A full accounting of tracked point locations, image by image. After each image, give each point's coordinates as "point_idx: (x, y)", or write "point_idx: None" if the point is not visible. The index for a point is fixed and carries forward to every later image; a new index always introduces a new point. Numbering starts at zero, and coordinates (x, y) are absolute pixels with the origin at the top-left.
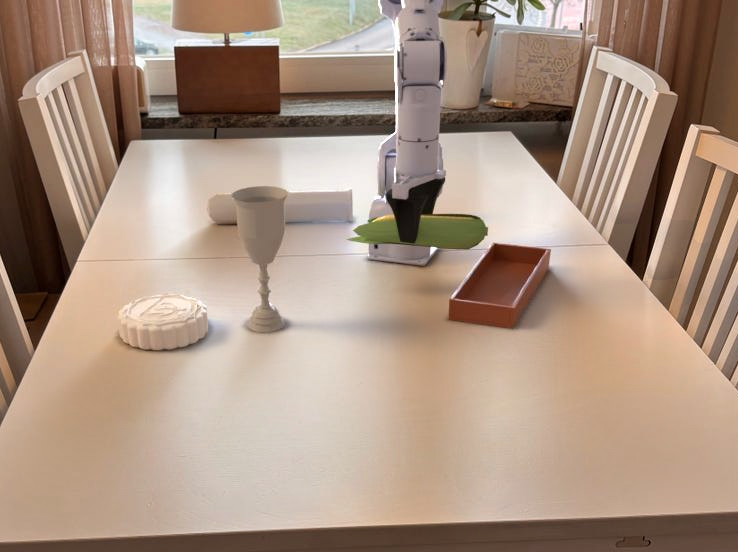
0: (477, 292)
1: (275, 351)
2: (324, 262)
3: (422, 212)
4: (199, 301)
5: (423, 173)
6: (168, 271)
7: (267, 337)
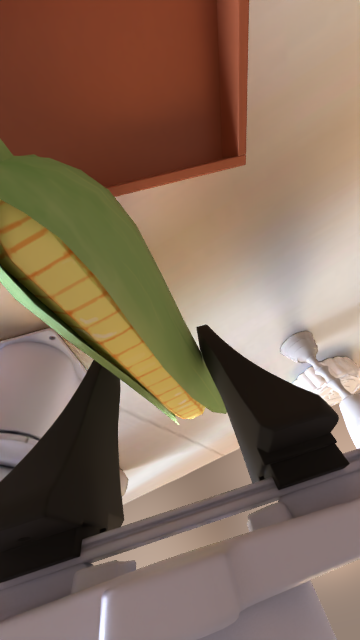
0: (84, 170)
1: (352, 305)
2: (134, 398)
3: (106, 397)
4: (313, 390)
5: (306, 602)
6: (218, 433)
7: (322, 328)
